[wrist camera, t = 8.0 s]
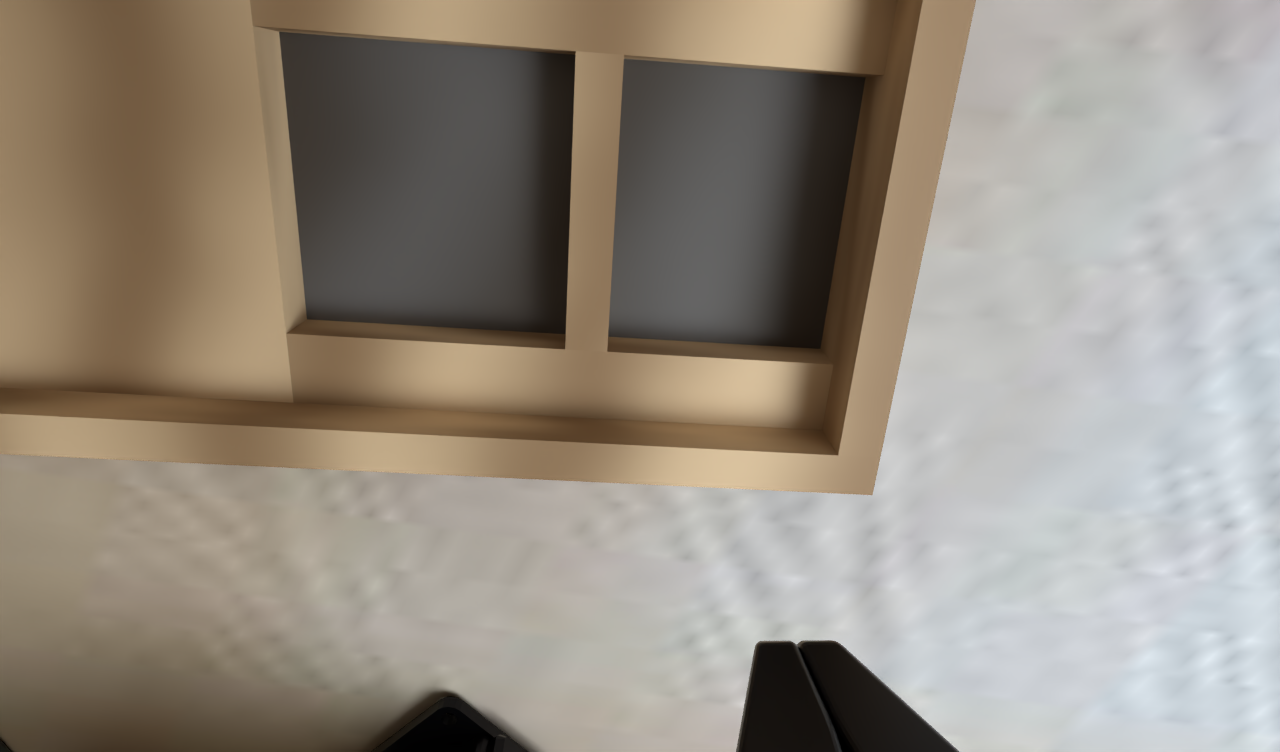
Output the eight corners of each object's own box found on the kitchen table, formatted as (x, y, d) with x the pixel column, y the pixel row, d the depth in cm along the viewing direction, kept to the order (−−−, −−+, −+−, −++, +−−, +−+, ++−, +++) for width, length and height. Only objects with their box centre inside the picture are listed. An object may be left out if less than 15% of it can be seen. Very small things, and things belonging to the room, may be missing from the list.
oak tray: (-316, 381, 18) (-484, 431, 16) (-557, -185, 14) (-847, -257, 11) (836, 440, 20) (872, 495, 17) (926, -54, 16) (994, -89, 13)
